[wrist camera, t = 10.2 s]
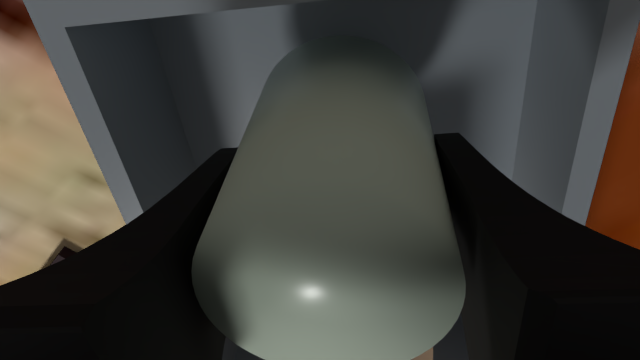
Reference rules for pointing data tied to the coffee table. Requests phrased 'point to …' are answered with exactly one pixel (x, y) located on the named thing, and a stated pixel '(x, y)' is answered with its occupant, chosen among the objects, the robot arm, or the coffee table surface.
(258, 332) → the sage capsule
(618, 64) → the tote
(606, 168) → the coffee table surface
